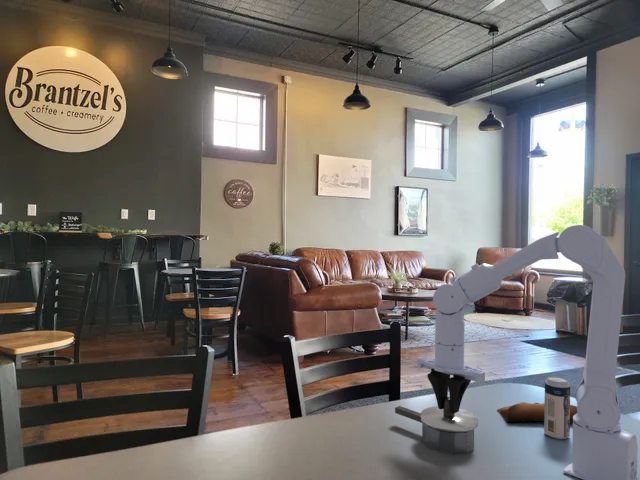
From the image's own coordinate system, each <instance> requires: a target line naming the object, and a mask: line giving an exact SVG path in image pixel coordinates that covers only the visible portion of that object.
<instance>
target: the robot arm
mask: <svg viewBox="0 0 640 480" xmlns="http://www.w3.org/2000/svg"><path fill="white" fill-rule="evenodd" d="M558 253H560V254H561V255H562V257H564V258H566V259H567V260H569V261H570V262H573V263H575V264H577V265H579V266H580V267H581V268H582V269H583V271H585V272H586V273H587V274H588V276H589V277H591V279H592V280H593V281H592V290H591V291H592V293H591V300H590V301H591V302H590V310H589V311H590V312H589V321H588V323H589V324H588V329H587V330H588V331H587V341H586V353H585V362H584V363H585V364H584V367H583V372H582V379H581V381H580V383H578V385H577V386H576V388H575V391H574V397H575V401H576V403H577V404H576V406H577V413H576V414H575V415H574V416H573V422H572V454H571V456H572V458H571V459H572V460H571V461H572V462H571V463H569V464H568V465H567V466H566V467H564V468H563V473H565V474H567V475H570V476H573V477H575V478H578V479H581V480H639V476H638V450H639V449H638V438H637V436H636V435H635V434H634V433H632V432H628V431H626V430H624V429H623V428H621V426H622V425H621V423H620V420H621V415H622V414H621V410H620V407H619V404H618V403H617V399H616V396H617V383H616V381H617V379H616V371H617V364H618V363H617V360H618V353H619V352H618V351H619V341H620V333H621V332H620V331H621V323H622V312H623V303H624V293H625V284H626V283H625V282H626V271H625V267H624V266H623V265H622V264H621V262H620V260H619V259H618V257H617V256H616V255H615V253H614V251H613V250H612V249H611V247H610V246H609V244H608V242H607V239H606V238H604V237H603V236H602V235H601V234H599V233H598V232H597V231H595V230H594V229H593V228H591V227H589V226H587V225H583V224H574V225H570V226H568V227H566V228H564V230H563V231H561V232H559V231H556V232H555V233H551V234H548V235H546V236H544V237H541V238H538V239H535V241H533V242H531V243H530V244H528V245H526V246H524V247H523V248H521V249H519V250H517V251H516V252H515V253H513V254H511V255H509V256H508V257H506V258H504V259H502V260H500V261H499V262H497V263H496V264H489V263H486V262H483V263H481V264H480V265H479V264H478V263H476V264H473V265H472V266H470V268H471V269H470V270H469V271H467V272H466V273H463V274H462V275H460V276H458V277H457V276H453V277H452V278H450V281H451V282H450V283H444V284H441V285H440V286H439V287H438V288H437V289H436V290H435V291H434V293H433V297H432V300H433V301H432V303H433V305H434V307H435V308H436V309H435V324H434V326H435V327H434V329H435V331H434V332H435V333H434V358H430V357H425V356H420V357H417V358H416V368H417V369H418V368H419V369H426V370H430V371H429V373H427V379H428V381H429V383H430V385H431V388H432V389H433V392H434V395H435V400H436V403H437V406H438V408H439V409H443V398H444V397H450V413H453V414H454V413H456V412H459V408H461V403H462V400H463V397H464V395H465V392H466V391H467V388H468V386H469V385H470V383H471V382H472V381H473V382H474V383H477V384H482V383H485V382H486V371H483V370H479V369H476V368H474V367H473V366H469V365H466V364H465V324H466V323H465V320H464V319H465V309H464V308H465V307H466V305H467V304H473V303H476V302H477V301H479V300H480V299H482V298H485V297H487V296H488V295H490V294H493V293H494V292H496V291H498V290H499V289H501V287H502V282H503V279H505V278H507V277H509V276H511V275H513V274H516V273H517V272H519V271H521V270H523V269H525V268H527V267H529V266H531V265H533V264H535V263H537V262H539V261H543V260H559V254H558ZM451 376H452V377H451ZM448 392H449V395H448Z"/></svg>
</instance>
